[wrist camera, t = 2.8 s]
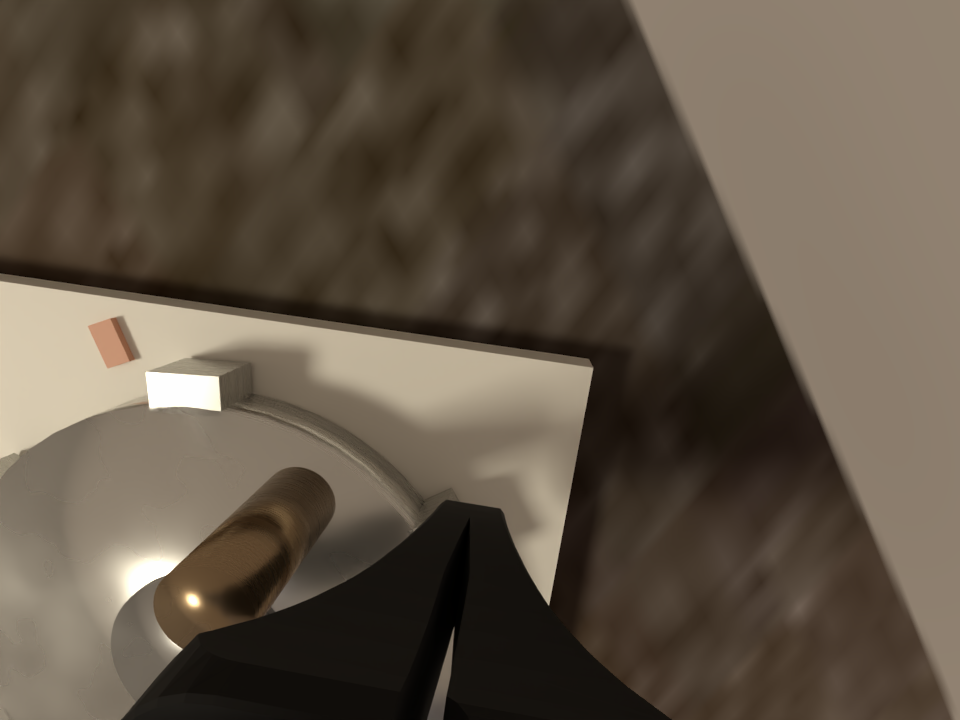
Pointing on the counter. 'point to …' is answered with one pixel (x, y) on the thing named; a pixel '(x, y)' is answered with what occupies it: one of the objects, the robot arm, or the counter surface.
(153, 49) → the counter surface
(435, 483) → the cap plate
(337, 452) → the tabbed shallow bowl
